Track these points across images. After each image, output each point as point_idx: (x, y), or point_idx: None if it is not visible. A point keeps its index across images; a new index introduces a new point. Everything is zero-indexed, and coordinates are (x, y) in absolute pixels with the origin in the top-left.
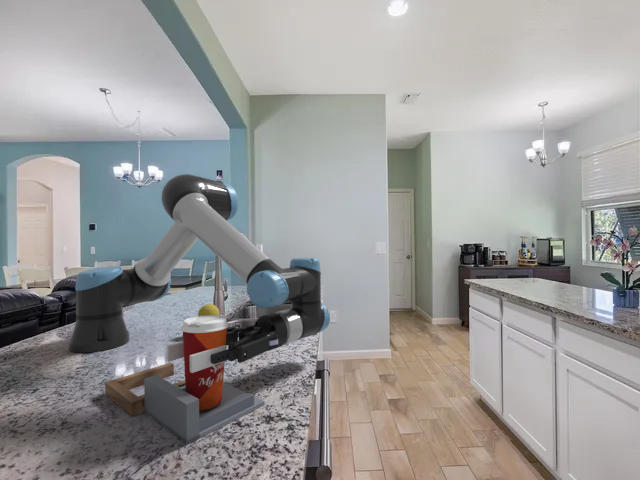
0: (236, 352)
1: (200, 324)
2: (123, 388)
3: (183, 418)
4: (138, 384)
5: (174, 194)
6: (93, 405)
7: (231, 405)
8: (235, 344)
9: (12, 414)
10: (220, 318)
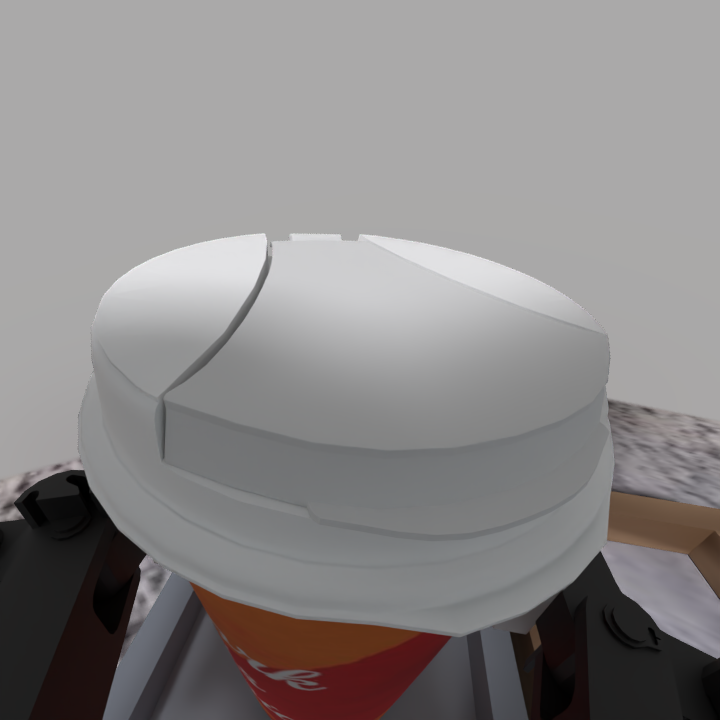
0: (17, 525)
1: (264, 236)
2: (624, 509)
3: None
4: None
5: None
6: (615, 485)
7: (146, 619)
8: (33, 587)
9: (645, 411)
10: (207, 332)
